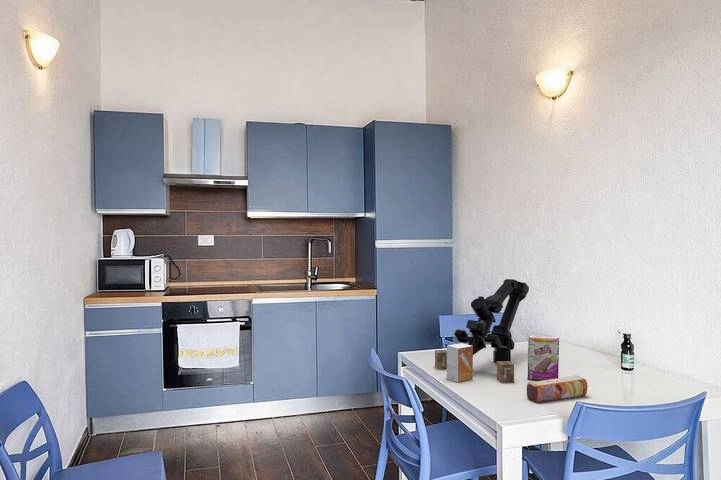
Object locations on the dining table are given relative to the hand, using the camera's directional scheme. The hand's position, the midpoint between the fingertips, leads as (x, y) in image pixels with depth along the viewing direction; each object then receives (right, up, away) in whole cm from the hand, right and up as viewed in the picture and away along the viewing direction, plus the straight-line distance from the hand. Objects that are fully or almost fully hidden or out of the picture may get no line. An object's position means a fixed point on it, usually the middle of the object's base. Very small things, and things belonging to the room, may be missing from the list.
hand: (469, 356), depth 209 cm
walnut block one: (-9, -7, +11) cm, 16 cm away
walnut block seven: (+12, -8, -8) cm, 16 cm away
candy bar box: (+27, -8, -6) cm, 29 cm away
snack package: (+24, -9, -28) cm, 38 cm away
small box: (-5, -8, -5) cm, 11 cm away
